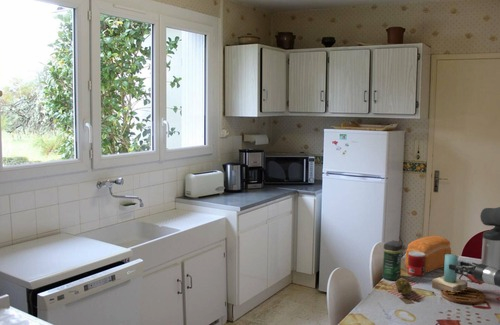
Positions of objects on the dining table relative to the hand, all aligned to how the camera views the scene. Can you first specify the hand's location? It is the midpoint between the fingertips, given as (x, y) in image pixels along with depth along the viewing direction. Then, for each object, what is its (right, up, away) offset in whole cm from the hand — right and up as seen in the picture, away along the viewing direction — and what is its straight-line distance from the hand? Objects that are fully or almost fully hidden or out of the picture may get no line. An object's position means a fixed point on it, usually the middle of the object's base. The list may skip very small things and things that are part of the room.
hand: (454, 264), depth 227 cm
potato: (-25, -13, -4) cm, 29 cm away
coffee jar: (-24, -10, +18) cm, 32 cm away
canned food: (-10, -10, +24) cm, 28 cm away
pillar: (-1, -8, +3) cm, 8 cm away
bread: (+1, -9, +37) cm, 38 cm away
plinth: (-1, -12, +3) cm, 12 cm away
